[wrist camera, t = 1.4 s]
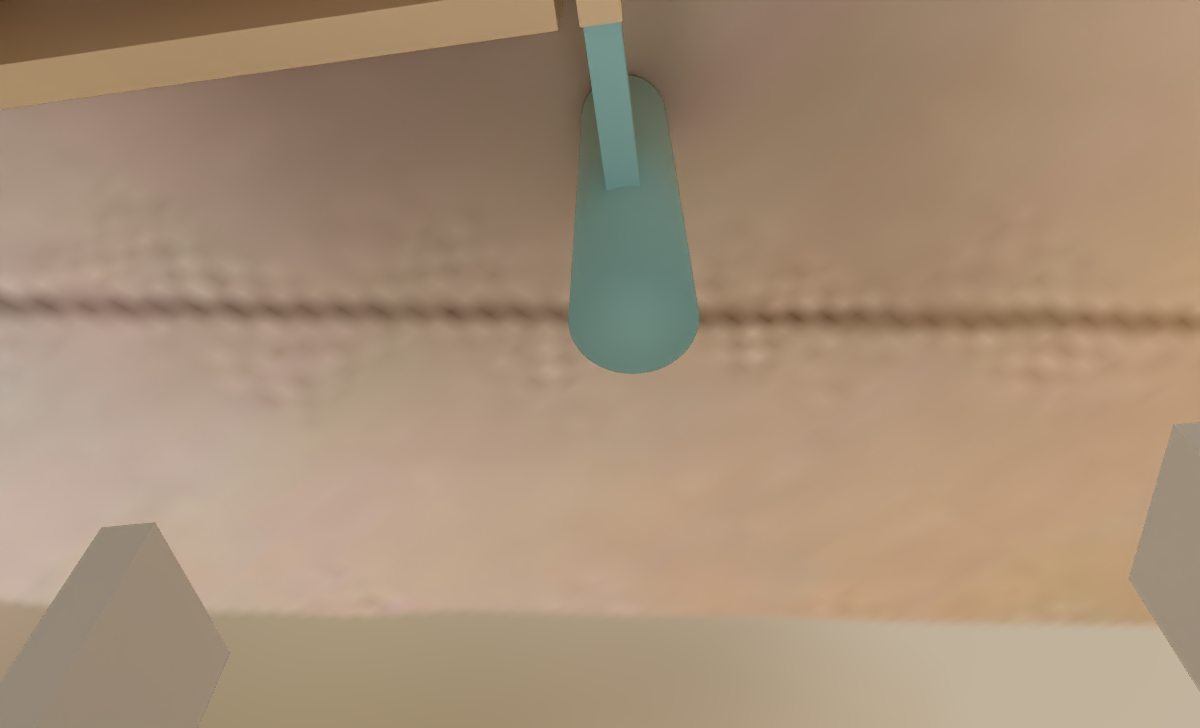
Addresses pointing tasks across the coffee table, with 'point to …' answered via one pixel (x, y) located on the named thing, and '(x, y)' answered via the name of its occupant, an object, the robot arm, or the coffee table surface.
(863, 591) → the coffee table surface
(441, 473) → the coffee table surface
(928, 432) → the coffee table surface
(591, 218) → the teal-tan flat piece
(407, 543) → the coffee table surface
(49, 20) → the carton
